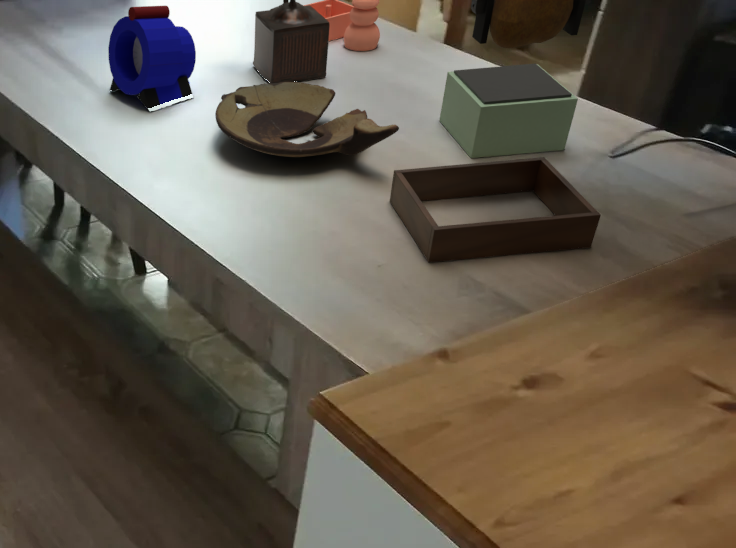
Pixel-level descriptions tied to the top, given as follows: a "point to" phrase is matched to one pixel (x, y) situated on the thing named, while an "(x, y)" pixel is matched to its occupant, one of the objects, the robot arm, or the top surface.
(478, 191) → the tray
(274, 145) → the broken ceramic bowl
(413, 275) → the top surface
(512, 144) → the stand
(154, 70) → the blue spotlight
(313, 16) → the brown coffee grinder
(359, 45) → the pottery
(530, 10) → the potato
